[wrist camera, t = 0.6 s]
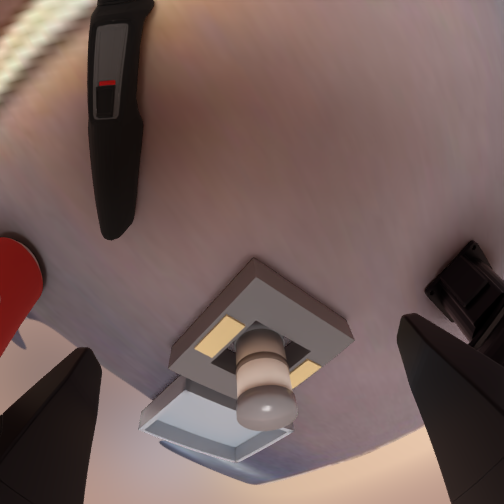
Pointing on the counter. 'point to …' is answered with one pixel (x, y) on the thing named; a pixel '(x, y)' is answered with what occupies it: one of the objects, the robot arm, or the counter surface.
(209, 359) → the fuse block
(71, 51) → the counter surface
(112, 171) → the electric trimmer
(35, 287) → the beverage can
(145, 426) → the parts tray
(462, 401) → the robot arm
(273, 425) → the cylinder
